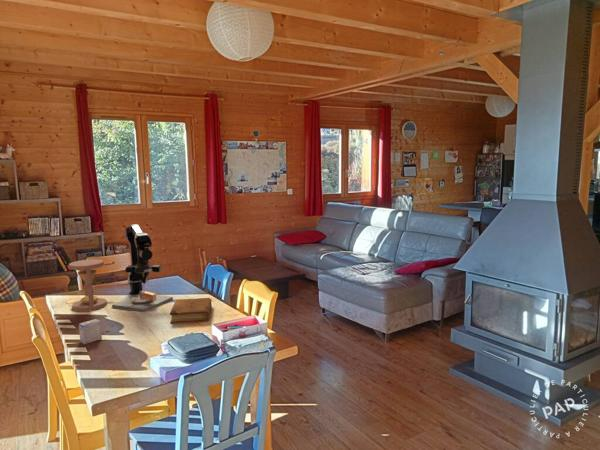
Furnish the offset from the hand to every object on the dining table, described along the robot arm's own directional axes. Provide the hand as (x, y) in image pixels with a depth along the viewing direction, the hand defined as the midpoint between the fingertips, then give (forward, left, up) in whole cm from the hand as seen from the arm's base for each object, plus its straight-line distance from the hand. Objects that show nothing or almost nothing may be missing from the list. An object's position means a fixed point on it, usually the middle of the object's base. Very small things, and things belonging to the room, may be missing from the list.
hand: (144, 283), depth 248 cm
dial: (+2, -2, -10) cm, 10 cm away
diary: (+37, -9, -12) cm, 40 cm away
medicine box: (+14, -52, -12) cm, 55 cm away
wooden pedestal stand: (-26, -15, -12) cm, 32 cm away
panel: (-1, -1, -11) cm, 11 cm away
